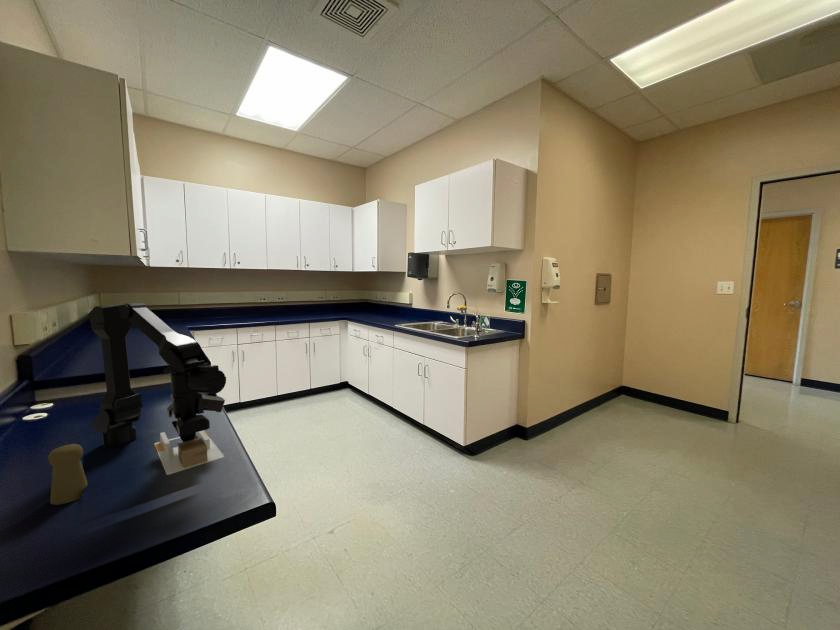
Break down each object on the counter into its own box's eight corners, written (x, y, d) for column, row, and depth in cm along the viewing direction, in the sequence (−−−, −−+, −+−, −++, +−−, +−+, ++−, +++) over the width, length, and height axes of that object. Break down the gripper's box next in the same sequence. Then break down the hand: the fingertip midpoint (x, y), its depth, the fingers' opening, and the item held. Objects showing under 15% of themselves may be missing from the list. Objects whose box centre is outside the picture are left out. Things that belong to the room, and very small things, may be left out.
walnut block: (178, 458, 87) (177, 443, 86) (201, 452, 90) (200, 437, 90) (183, 468, 82) (182, 452, 82) (207, 460, 86) (206, 445, 86)
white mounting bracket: (154, 448, 96) (153, 434, 95) (204, 435, 104) (203, 422, 103) (167, 481, 80) (166, 464, 79) (225, 462, 88) (224, 447, 88)
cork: (54, 508, 70) (48, 456, 69) (46, 498, 74) (40, 449, 72) (93, 492, 75) (89, 444, 74) (84, 484, 79) (79, 438, 78)
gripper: (230, 391, 87) (234, 450, 89) (211, 376, 101) (215, 428, 102) (177, 402, 79) (182, 466, 81) (164, 384, 93) (169, 440, 94)
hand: (189, 448), depth 90 cm, fingers closed
